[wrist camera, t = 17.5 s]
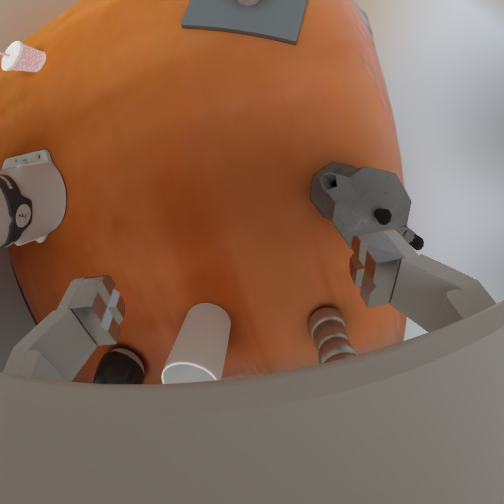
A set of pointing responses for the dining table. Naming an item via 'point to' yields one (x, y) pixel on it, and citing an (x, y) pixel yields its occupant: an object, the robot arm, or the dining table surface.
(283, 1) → the slate board
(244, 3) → the smoothie
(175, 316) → the dining table surface
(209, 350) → the cup
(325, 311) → the plastic bottle
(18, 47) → the beverage cup
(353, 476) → the robot arm
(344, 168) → the coffeepot
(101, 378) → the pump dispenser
